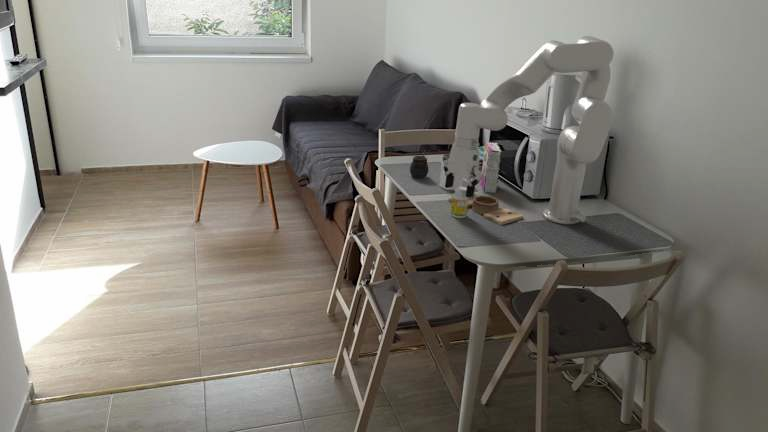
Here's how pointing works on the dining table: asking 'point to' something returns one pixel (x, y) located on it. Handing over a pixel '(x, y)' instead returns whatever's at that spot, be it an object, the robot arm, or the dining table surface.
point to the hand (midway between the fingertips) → (459, 191)
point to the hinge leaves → (491, 209)
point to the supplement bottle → (459, 203)
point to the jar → (457, 179)
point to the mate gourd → (419, 166)
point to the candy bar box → (490, 167)
